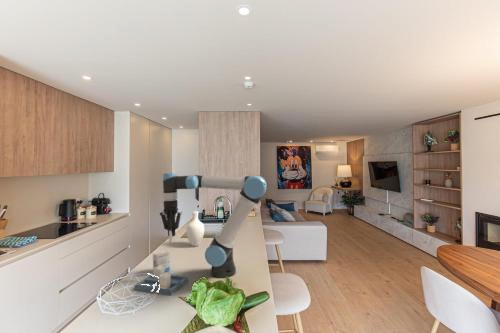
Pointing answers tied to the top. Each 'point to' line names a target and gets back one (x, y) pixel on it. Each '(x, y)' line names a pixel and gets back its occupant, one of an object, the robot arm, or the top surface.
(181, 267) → the top surface
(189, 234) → the vase
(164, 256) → the ink box
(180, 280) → the switch board
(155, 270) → the tab
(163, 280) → the tab
